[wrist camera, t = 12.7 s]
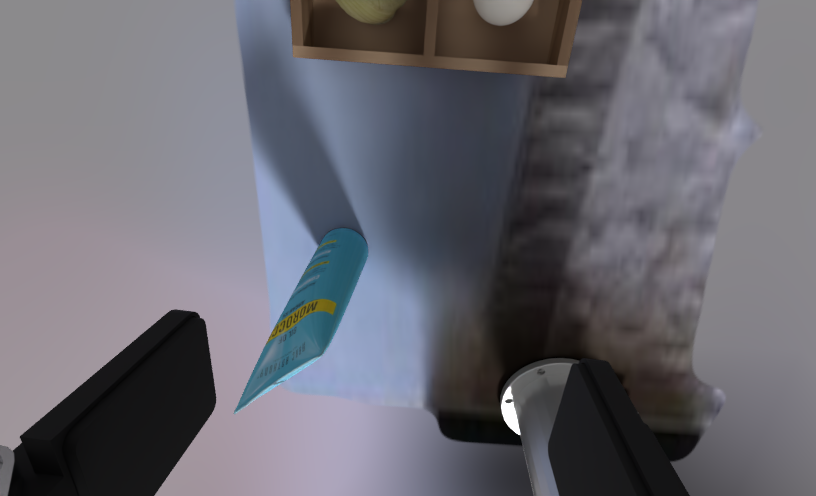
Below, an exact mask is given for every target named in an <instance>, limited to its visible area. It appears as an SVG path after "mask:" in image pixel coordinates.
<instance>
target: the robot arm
mask: <svg viewBox="0 0 816 496" xmlns="http://www.w3.org/2000/svg"><path fill="white" fill-rule="evenodd" d="M215 404H216V393H215V386H214V379H213V372H212V365H211V359H210V352H209V345H208V337H207V331H206V324H205V321H204V320H203V319H202V318H200V316H199V315H198V313H196V312H191V311H183V310H171V311H169V312H168V313H167V314H166V315H165V316H163V317H162V318H161V319H160V320H158V321H157V322H156V323H155V324H154V325H153V326H151V327H150V328H149V329H148V330H146V331H145V332H144V333H143V334H142V335H140V336H139V337H138V338H137V339H136V340H135V341H134V342H132V343H131V344H130V345H129V346H127V347H126V348H125V349H124V350H123V351H122V352H120V353H119V354H118V355H117V356H115V357H114V358H113V359H112V360H111V361H109V362H108V363H107V364H106V365H105V366H104V367H102V368H101V369H100V370H99V371H97V372H96V373H95V374H94V375H93V376H92V377H90V378H89V379H88V380H87V381H86V382H84V383H83V384H82V385H81V386H80V387H78V388H77V389H76V390H75V391H74V392H72V393H71V394H70V395H69V396H68V397H66V398H65V399H64V400H63V401H62V402H60V403H59V404H58V405H57V406H56V407H55V408H53V409H52V410H51V411H50V412H49V413H47V414H46V415H45V416H44V417H43V418H41V419H40V420H39V421H38V422H37V423H35V424H34V425H33V426H32V427H31V428H30V429H28V430H27V431H26V432H25V433H24V434H23V435H21V436H20V438H21V441H22V443H21V444H20V445H19V446H18V447H17V448H15V449H14V450H13V451H12V450H11V449H9V448H8V447H6V446H1V445H0V496H154V495H155V494H156V492H157V491H158V489H159V488H160V487H161V485H162V484H163V482H164V481H165V479H166V478H167V477H168V475H169V474H170V472H171V471H172V469H173V468H174V467H175V465H176V464H177V462H178V461H179V459H180V458H181V457H182V455H183V454H184V452H185V451H186V450H187V448H188V447H189V445H190V444H191V442H192V441H193V440H194V438H195V437H196V435H197V434H198V432H199V431H200V430H201V428H202V427H203V425H204V424H205V422H206V421H207V420H208V418H209V417H210V415H211V414H212V412H213V410H214V408H215ZM500 406H501V412H502V415H503V418H504V420H505V422H506V423H507V425H508V426H509V427H510V428H511V429H512V430H513V431H514V432H516V433H517V434H519V435H520V436H521V440H522V445H523V449H524V454H525V458H526V462H527V467H528V471H529V475H530V480H531V485H532V489H533V493H534V496H690V495H689V494H688V492H687V491H686V489H685V487H684V485H683V483H682V482H681V480H680V478H679V477H678V475H677V473H676V472H675V470H674V468H673V466H672V465H671V463H670V461H669V460H668V458H667V456H666V454H665V453H664V451H663V449H662V448H661V446H660V444H659V442H658V441H657V439H656V437H655V436H654V434H653V432H652V431H651V429H650V428H649V427H648V425H646V424H645V423H643V421H642V419H641V417H640V416H639V413H638V412H637V410H636V409H635V407H634V405H633V404H632V402H631V400H630V398H629V397H628V395H627V393H626V391H625V390H624V388H623V386H622V384H621V383H620V381H619V379H618V377H617V376H616V374H615V372H614V371H613V369H612V367H611V365H610V364H609V363H608V362H607V361H603V360H594V359H586V358H582V359H581V360H580V361H578V360H574V359H567V358H550V359H545V360H540V361H537V362H534V363H531V364H529V365H527V366H525V367H523V368H521V369H520V370H518V371H517V372H516V373H515V374H513V375H512V376H511V377H510V378H509V380H508V381H507V382H506V384H505V385H504V387H503V389H502V392H501V396H500Z"/></svg>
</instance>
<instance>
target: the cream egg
mask: <svg viewBox="0 0 816 496" xmlns="http://www.w3.org/2000/svg"><path fill="white" fill-rule="evenodd" d="M533 1H534V0H473V2H474V6H475V8H476V11H477V12H478V14H479V15H480V17H481V18H482V19H483V20H485V21H486V22H488V23H490V24H492V25H497V26H504V25H509V24H512V23H514V22H516V21H518V20H519V19H520V18H522V17H523V16H524V15H525V14H526V12H527V11H528V10H529V8H530V7H531V5H532V3H533Z"/></svg>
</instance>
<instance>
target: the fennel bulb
mask: <svg viewBox="0 0 816 496" xmlns="http://www.w3.org/2000/svg"><path fill="white" fill-rule="evenodd" d="M406 1H407V0H336V2H337V3H338V4H339V5H340V7H341V8H342V9H344V11H345V12H346V13H347V14H348V15H350V16H351V17H353V18H354V19H356V20H358V21H360V22H363V23H368V24H371V25H380V24H385V23H387V22H389V21H390V20H391V19H392V18H393V17H394V15H395V13H396V11H397V9H398V8H400V7H402V6H403V5H404V4H405V2H406Z"/></svg>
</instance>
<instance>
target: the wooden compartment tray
mask: <svg viewBox="0 0 816 496" xmlns="http://www.w3.org/2000/svg"><path fill="white" fill-rule="evenodd" d="M581 4H582V0H534V1H533V3H532V5H531V7H530V8H529V10H528V11H527V12H526V14H525V15H524V16H523V17H522V18H520V19H519V20H518V21H516V22H514V23H512V24H509V25H504V26H497V25H492V24H490V23H488V22H486V21H485V20H483V19H482V18H481V17H480V15H479V14H478V12H477V11H476V8H475V6H474V2H473V0H407V1H406V2H405V4H404V5H403V6H402V7H400V8H398V9H397V11H396V13H395V15H394V17H393V18H392V19H391V20H390V21H389V22H387V23H385V24H380V25H371V24H368V23H363V22H360V21H358V20H356V19H354V18H353V17H351V16H350V15H348V14H347V13H346V12H345V11H344V9H342V8H341V7H340V5H339V4H338V3H337V2H336V0H290V6H291V26H292V45H293V57H297V58H311V59H324V60H337V61H350V62H363V63H376V64H390V65H403V66H416V67H429V68H442V69H455V70H469V71H482V72H495V73H508V74H521V75H535V76H548V77H561V78H565V77H566V72H567V68H568V63H569V59H570V54H571V49H572V45H573V40H574V36H575V31H576V27H577V22H578V17H579V13H580V8H581Z"/></svg>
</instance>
